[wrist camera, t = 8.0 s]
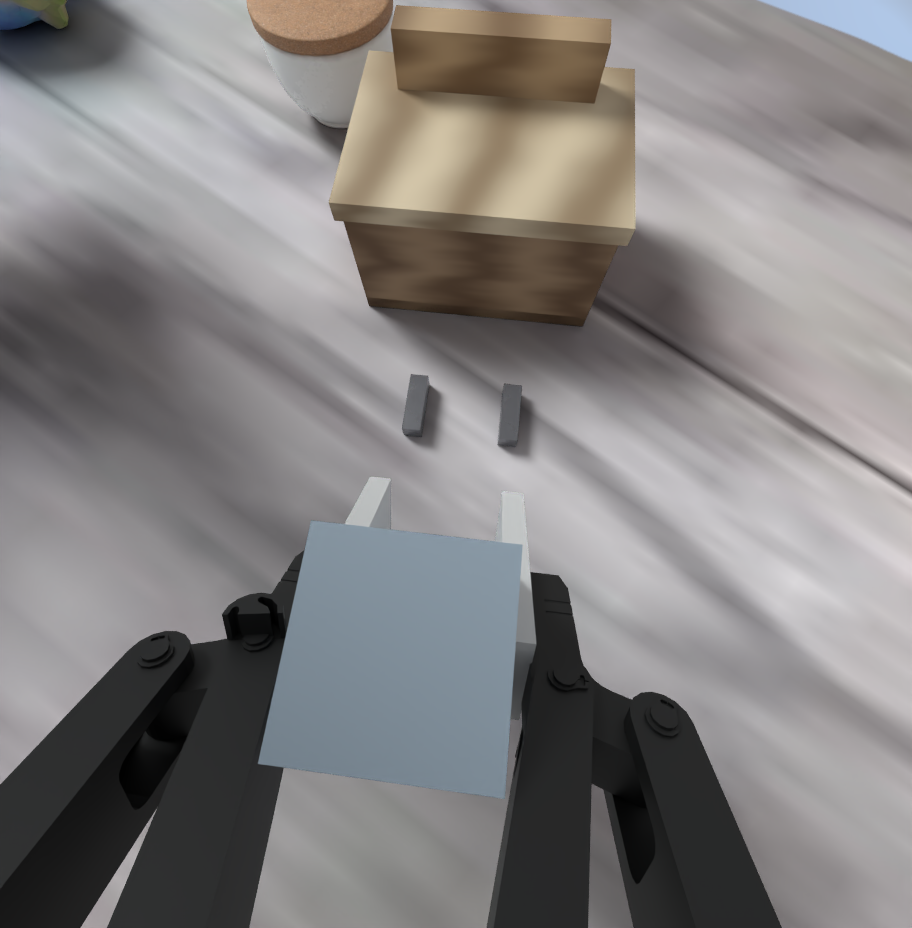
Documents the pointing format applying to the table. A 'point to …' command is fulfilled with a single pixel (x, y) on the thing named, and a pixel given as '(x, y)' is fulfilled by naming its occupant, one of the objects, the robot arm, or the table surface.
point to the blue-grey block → (399, 660)
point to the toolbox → (479, 273)
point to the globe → (32, 13)
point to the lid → (492, 129)
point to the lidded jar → (322, 49)
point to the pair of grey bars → (419, 400)
